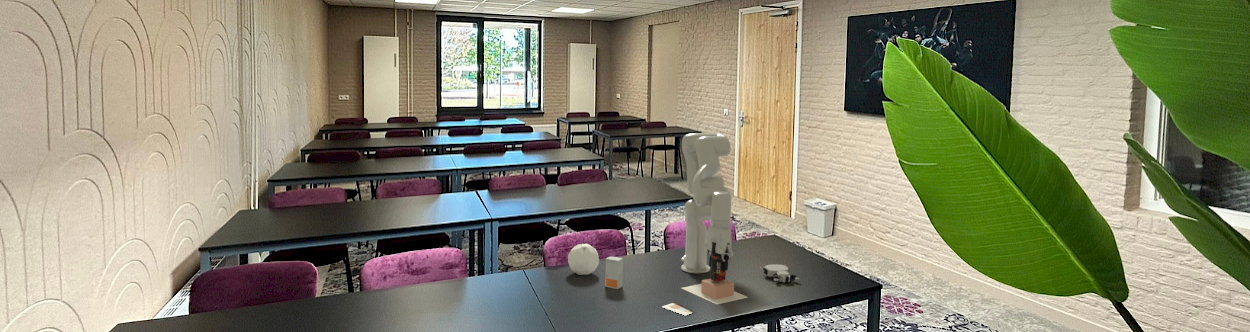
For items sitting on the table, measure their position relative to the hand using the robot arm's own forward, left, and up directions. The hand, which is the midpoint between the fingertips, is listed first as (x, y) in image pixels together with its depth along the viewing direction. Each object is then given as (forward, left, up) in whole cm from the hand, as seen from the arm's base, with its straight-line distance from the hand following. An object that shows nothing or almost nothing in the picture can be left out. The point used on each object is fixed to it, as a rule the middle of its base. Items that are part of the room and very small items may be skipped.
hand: (718, 267), depth 283 cm
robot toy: (-4, +38, -12) cm, 40 cm away
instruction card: (+4, -21, -12) cm, 24 cm away
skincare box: (-30, -29, -12) cm, 43 cm away
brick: (0, 0, -11) cm, 11 cm away
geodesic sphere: (-51, -31, -12) cm, 61 cm away
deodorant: (0, 0, -5) cm, 5 cm away
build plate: (-2, 0, -12) cm, 12 cm away
